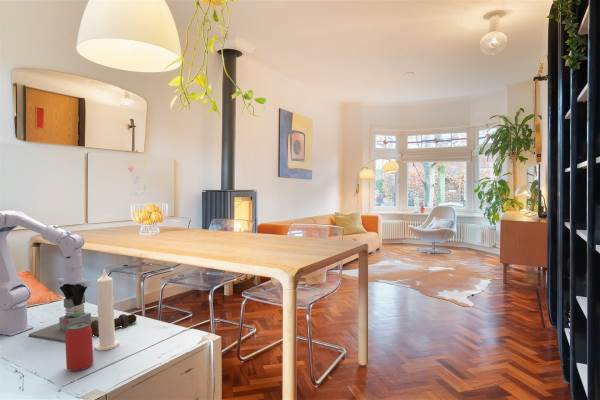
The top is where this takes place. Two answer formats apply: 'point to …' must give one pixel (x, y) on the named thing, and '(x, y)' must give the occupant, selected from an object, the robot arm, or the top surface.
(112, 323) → the candle
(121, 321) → the bolt
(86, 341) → the beer can
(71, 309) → the tall silver metal block
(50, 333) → the jack base
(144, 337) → the top surface
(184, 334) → the top surface
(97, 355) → the top surface
